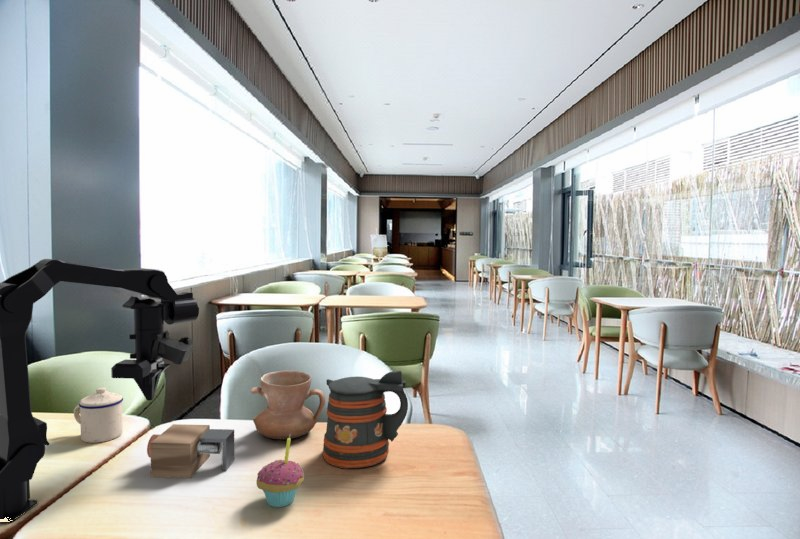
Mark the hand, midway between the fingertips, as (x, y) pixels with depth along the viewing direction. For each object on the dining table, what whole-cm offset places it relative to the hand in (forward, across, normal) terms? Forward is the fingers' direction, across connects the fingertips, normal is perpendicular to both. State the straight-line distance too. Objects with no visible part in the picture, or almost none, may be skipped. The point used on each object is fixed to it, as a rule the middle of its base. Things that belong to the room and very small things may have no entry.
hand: (150, 399), depth 109 cm
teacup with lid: (+13, +12, +19) cm, 26 cm away
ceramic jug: (+13, +16, -26) cm, 33 cm away
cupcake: (+13, -16, -32) cm, 38 cm away
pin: (+11, -3, -9) cm, 15 cm away
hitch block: (+13, -3, -8) cm, 16 cm away
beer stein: (+13, +4, -46) cm, 48 cm away
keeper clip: (+13, -2, -15) cm, 20 cm away
